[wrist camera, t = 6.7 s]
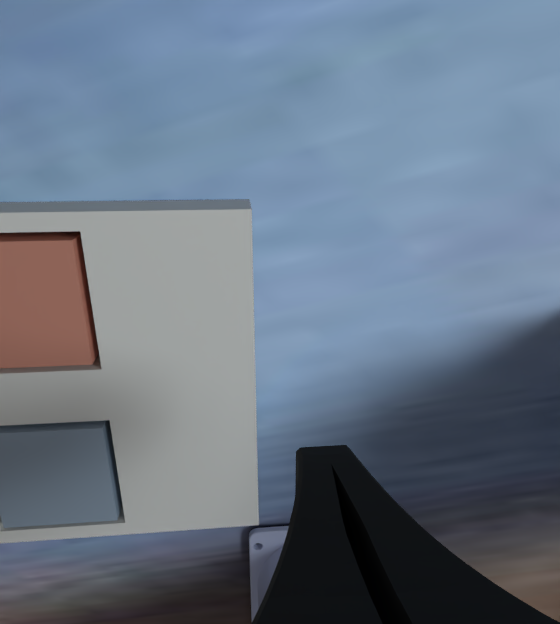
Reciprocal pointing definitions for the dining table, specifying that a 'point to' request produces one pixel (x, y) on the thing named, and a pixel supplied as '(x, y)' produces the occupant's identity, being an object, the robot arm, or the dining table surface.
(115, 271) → the key panel
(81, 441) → the slate blue key
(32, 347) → the brick red key
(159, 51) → the dining table surface
